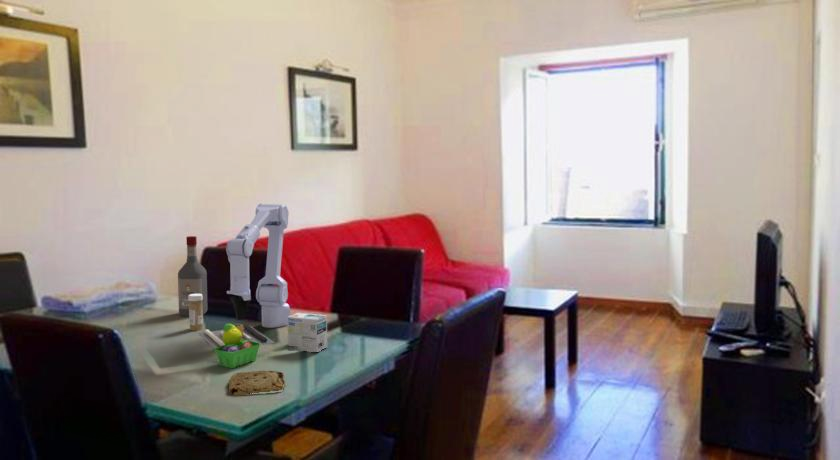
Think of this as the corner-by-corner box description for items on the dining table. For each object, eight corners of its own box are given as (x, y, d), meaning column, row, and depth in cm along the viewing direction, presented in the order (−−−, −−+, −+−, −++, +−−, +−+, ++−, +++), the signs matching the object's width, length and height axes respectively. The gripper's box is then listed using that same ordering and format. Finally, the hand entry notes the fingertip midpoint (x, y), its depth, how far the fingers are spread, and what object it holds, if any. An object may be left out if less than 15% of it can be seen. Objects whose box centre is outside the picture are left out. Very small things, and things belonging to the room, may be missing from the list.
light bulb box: (327, 348, 197) (327, 314, 196) (317, 353, 191) (317, 319, 190) (298, 344, 201) (297, 311, 200) (287, 350, 194) (286, 316, 193)
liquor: (200, 316, 237) (198, 238, 234) (176, 316, 237) (174, 237, 234) (209, 311, 246) (207, 235, 243) (186, 310, 246) (184, 235, 243)
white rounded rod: (208, 332, 208) (208, 328, 208) (226, 347, 191) (226, 343, 190) (204, 333, 207) (204, 329, 207) (221, 348, 190) (221, 344, 190)
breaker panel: (251, 330, 217) (250, 323, 217) (275, 347, 197) (275, 339, 197) (197, 337, 207) (197, 330, 207) (217, 356, 187) (217, 347, 187)
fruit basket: (231, 370, 174) (230, 331, 173) (210, 365, 179) (209, 326, 178) (261, 360, 184) (261, 322, 183) (241, 355, 189) (240, 318, 188)
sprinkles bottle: (205, 333, 212) (204, 294, 211) (191, 335, 210) (190, 296, 208) (201, 330, 216) (200, 292, 215) (187, 332, 214) (186, 294, 212)
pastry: (208, 390, 160) (208, 378, 160) (259, 372, 175) (258, 361, 174) (256, 404, 151) (256, 392, 151) (305, 383, 165) (305, 372, 165)
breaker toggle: (240, 335, 204) (239, 323, 204) (243, 338, 202) (242, 325, 202) (227, 337, 202) (227, 324, 202) (230, 339, 200) (230, 326, 199)
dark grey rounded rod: (247, 327, 215) (247, 323, 215) (267, 341, 198) (267, 337, 198) (243, 328, 214) (242, 324, 214) (263, 342, 197) (263, 338, 197)
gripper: (220, 274, 199) (221, 315, 200) (234, 281, 187) (234, 325, 188) (242, 272, 203) (243, 313, 204) (257, 279, 191) (257, 322, 192)
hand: (240, 319), depth 196 cm, fingers closed
